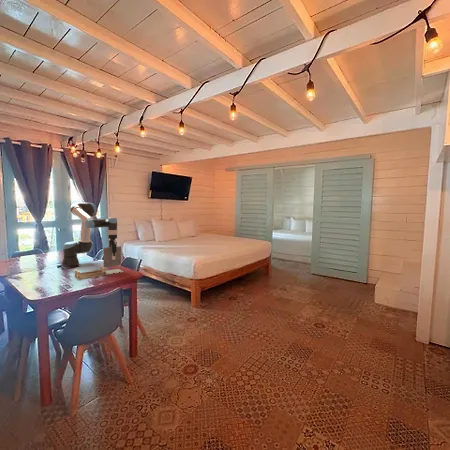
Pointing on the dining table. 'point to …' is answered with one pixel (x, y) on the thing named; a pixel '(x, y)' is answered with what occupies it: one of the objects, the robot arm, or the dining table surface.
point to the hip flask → (108, 257)
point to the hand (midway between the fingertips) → (112, 258)
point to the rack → (90, 273)
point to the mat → (113, 271)
